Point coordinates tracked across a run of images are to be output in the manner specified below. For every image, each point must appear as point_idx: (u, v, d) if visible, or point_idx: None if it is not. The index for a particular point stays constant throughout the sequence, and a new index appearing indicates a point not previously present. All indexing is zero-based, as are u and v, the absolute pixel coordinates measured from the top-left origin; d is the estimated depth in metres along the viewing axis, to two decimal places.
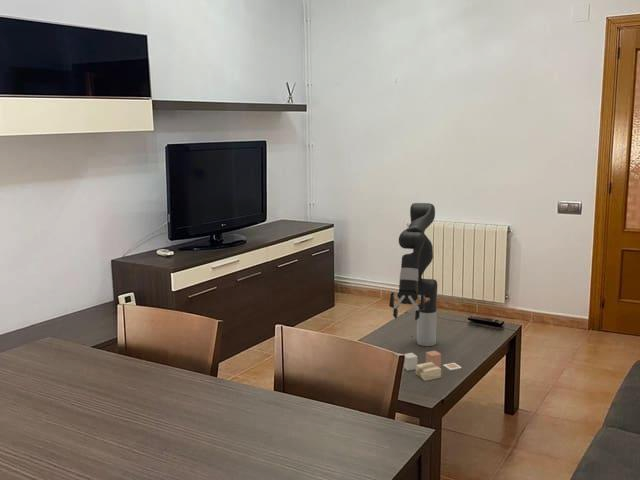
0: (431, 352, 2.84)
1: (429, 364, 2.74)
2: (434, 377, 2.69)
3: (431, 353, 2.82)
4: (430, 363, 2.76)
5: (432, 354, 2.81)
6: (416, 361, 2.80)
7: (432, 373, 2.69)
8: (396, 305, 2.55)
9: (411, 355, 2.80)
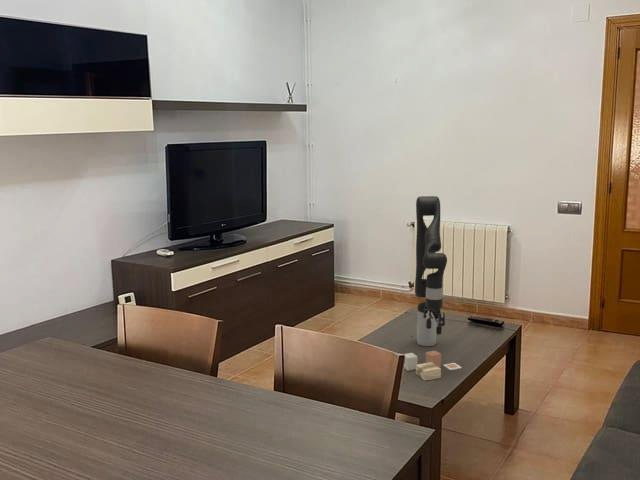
0: (431, 352, 2.84)
1: (430, 364, 2.74)
2: (434, 377, 2.69)
3: (431, 353, 2.82)
4: (430, 363, 2.75)
5: (432, 354, 2.81)
6: (416, 361, 2.80)
7: (432, 373, 2.69)
8: (426, 318, 2.83)
9: (411, 355, 2.80)
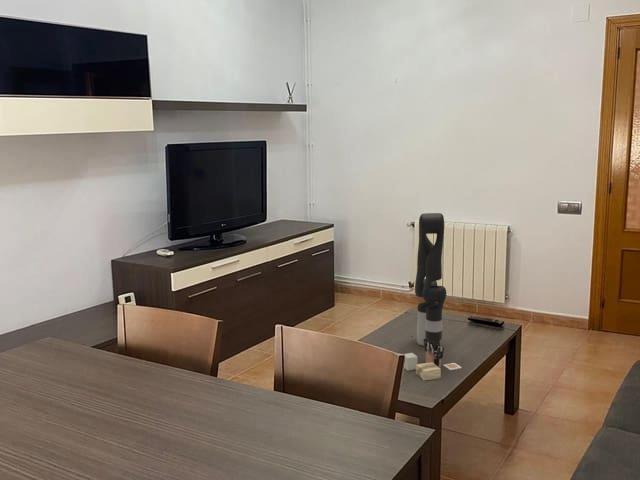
0: (431, 352, 2.84)
1: (430, 364, 2.74)
2: (433, 377, 2.69)
3: (431, 353, 2.82)
4: (431, 363, 2.75)
5: (432, 354, 2.81)
6: (416, 361, 2.80)
7: (432, 373, 2.69)
8: (427, 351, 2.85)
9: (411, 355, 2.80)
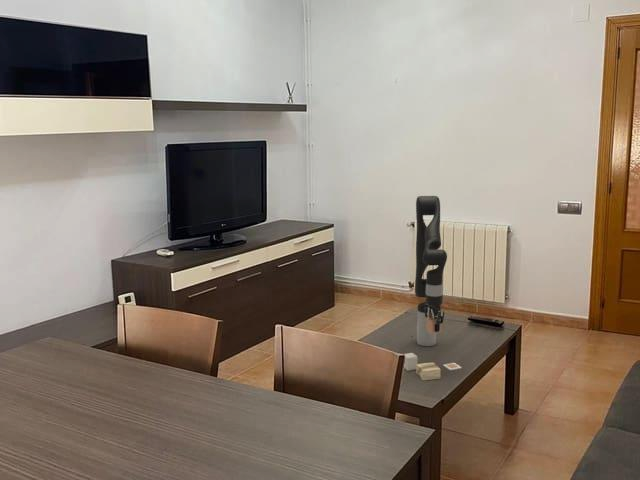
0: (431, 317, 2.80)
1: (430, 364, 2.74)
2: (433, 377, 2.69)
3: (432, 318, 2.79)
4: (431, 363, 2.75)
5: (432, 319, 2.78)
6: (416, 361, 2.80)
7: (431, 373, 2.69)
8: None
9: (411, 355, 2.81)
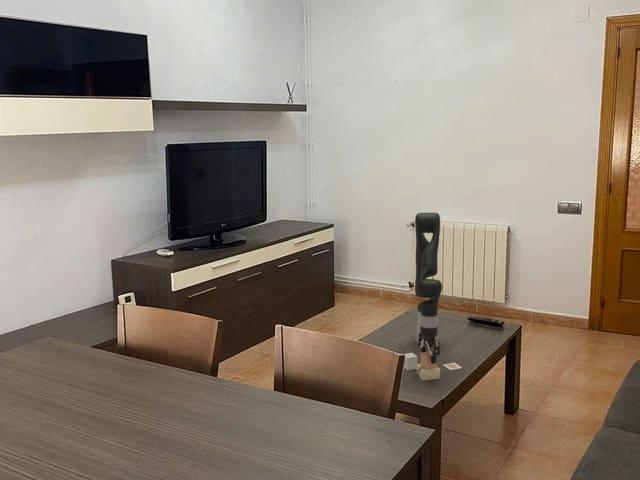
0: (426, 352, 2.72)
1: None
2: (432, 377, 2.69)
3: (426, 354, 2.71)
4: None
5: (427, 355, 2.70)
6: (416, 361, 2.80)
7: (430, 374, 2.69)
8: (421, 346, 2.74)
9: (411, 355, 2.80)
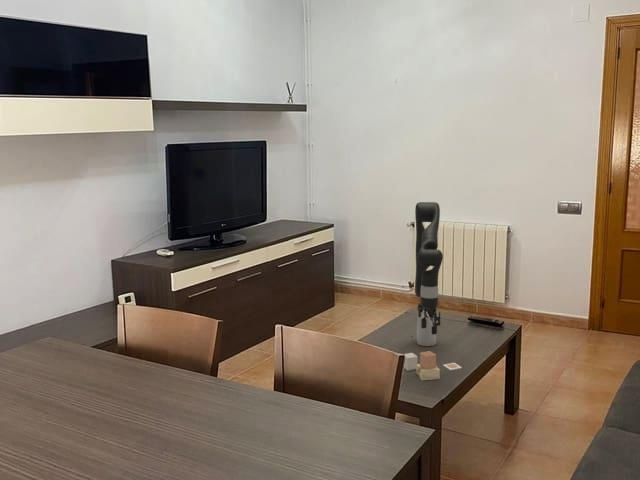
0: (425, 353, 2.72)
1: None
2: (432, 378, 2.69)
3: (426, 354, 2.70)
4: None
5: (427, 355, 2.69)
6: (416, 361, 2.80)
7: (430, 374, 2.68)
8: (421, 317, 2.71)
9: (411, 355, 2.81)
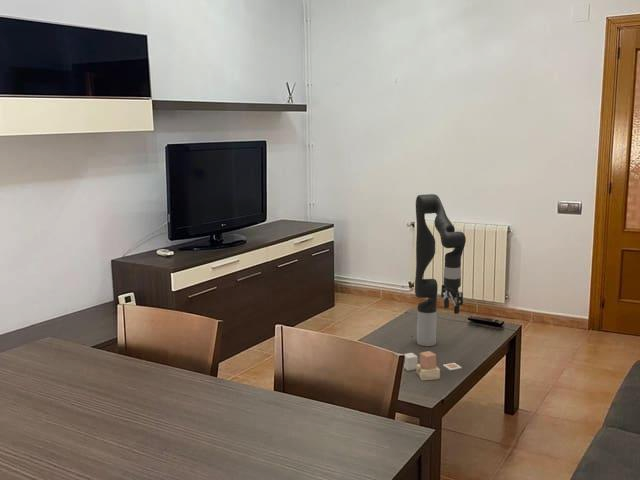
0: (426, 353, 2.72)
1: None
2: (432, 378, 2.69)
3: (426, 354, 2.70)
4: None
5: (427, 355, 2.69)
6: (416, 361, 2.80)
7: (430, 374, 2.68)
8: (444, 297, 2.81)
9: (411, 355, 2.80)
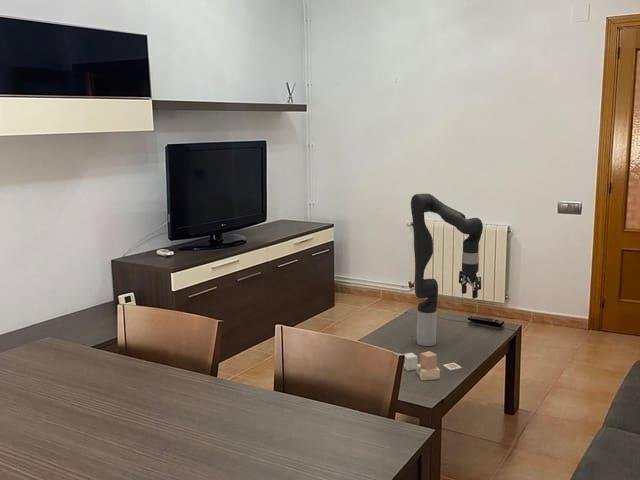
0: (426, 353, 2.72)
1: None
2: (432, 378, 2.69)
3: (427, 354, 2.70)
4: None
5: (428, 355, 2.69)
6: (416, 361, 2.80)
7: (430, 374, 2.68)
8: (462, 282, 2.89)
9: (412, 355, 2.81)
